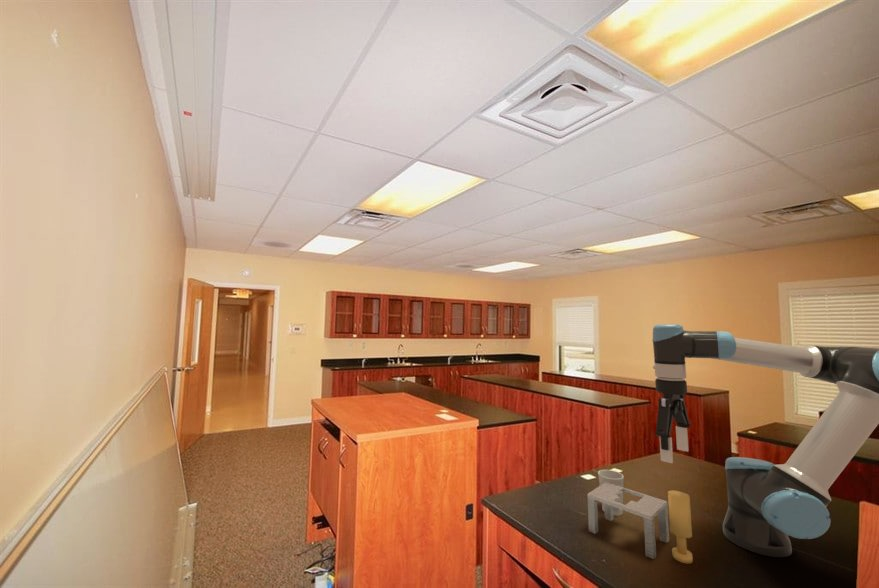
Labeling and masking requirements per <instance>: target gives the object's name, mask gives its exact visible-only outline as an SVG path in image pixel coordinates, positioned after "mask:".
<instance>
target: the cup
mask: <svg viewBox="0 0 879 588" xmlns="http://www.w3.org/2000/svg"><path fill="white" fill-rule="evenodd" d="M597 475H598V482H599V483H598V484H599V486H600V485H602V484H603V483H605V482H608V483H611V484H614V485H617V486H620V487H623V488H624V477H625V476H624V475H623V473H621V472H618V471H617V470H616V471H615V470H612V469H611V470H610V469H599V470H598V472H597ZM618 496H620V500H619V501H617V502H619V503H621V504H624V503H623V501H624V498H623V497H624V492H622V493H620V494H619V495H618ZM601 509H602V511H603V512H604V503H602V502H601ZM623 511H624V510H621V509H619V508H616V507H613V516H617V517H618V516H622V515H623V513H624V512H623Z"/></svg>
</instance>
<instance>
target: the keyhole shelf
mask: <svg viewBox="0 0 879 588" xmlns="http://www.w3.org/2000/svg"><path fill="white" fill-rule="evenodd" d="M622 492H623V493H627V494H629V495H632V496H636V497H639V498H640V499H639V500H638V501H635V500H629V502H627V503H626V504H624V503H623V504H621V503H619V502H617V501H619V500H620V496H618V495H619V494H620V493H622ZM586 497H587V515H588V518H587V519H588V521H587V522H588V532H590V533H592V534H594V535H596V534H598V532H599V521H598V519H599V516H598V515H599V514H598V502H600V503H601V504H602V503H604V511H603V512H604V513H603V514H604V519H605V520H607V521H610V522H612V521H613V520H614V515H613V507H616V508H619V509H621V510H623V511H624V512H627V513H630V514H632V515H636V516H639V517H641V518H643V527H644V528H643V533H644V534H643V535H644V552H645V557H647V558H649V559H652V560H655V559H656V557H657V546H656V528H655V524H656V523H655V518H656V517H657V522H658V524H657V525H658V539H659V541H660V542H663V543H665V544H668V542H669V541H670V533H669V532H670V526H669V509H668V501H667V500H664V499H662V498H658V497H656V496H655V497H654V496H651V495H648V494H645V493H642V492H639V491H636V490H632V489H630V488H627V487H624V486H623V487H620V486H617V485H614V484H611V483H608V482H605V483H603V484H602V485H600V484H599V485H598V486H597V487H595V488H594V489H593V490H591V491H590V492H588V493H587V496H586Z"/></svg>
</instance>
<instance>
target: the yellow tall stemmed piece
mask: <svg viewBox="0 0 879 588" xmlns="http://www.w3.org/2000/svg"><path fill="white" fill-rule="evenodd" d="M667 498H668V499H667V500H668V501H667V504H668V521H669V532H670V533H671V534H673V535H674V536H675V537H676V546H675V547H672V549H671V551H672V553H671V554H672V555H671V556H672V557H673V559H674V560H675V561H678V562H680V563H682V564H688V565H689V564H693V561H694V559H693V558H694V557H693V553H692V552H691V551H690V550H689V549H688V548H687V547H688V546H687V539H691V538H693V531H692V530H693V529H692V516H691V515H692V511H691V497H690V495H689V494H687V493H685V492H683V491H679V490H669V491H667Z"/></svg>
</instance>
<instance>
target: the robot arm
mask: <svg viewBox="0 0 879 588" xmlns="http://www.w3.org/2000/svg"><path fill="white" fill-rule="evenodd" d="M652 346H653V358H654V365H652V368H653V369H654V376H655V377H656V379H655V382H654V384H655V390H656V392H658V393H659V394H660V393H661V394H662V395H663V396H662V397H660V398H659V397H658V399H657V401H658V410H657V416H656V417H657V420H656V428H655V434H654V436H657V437H659V451H660V452H659V453H660V461H661V462H664V463H669V464H674V455H673V438H672V437H671V434H672V428H673V422H674V421H675V424H676V426H675V435H676V438H675V439H676V440H675V441H676V450H679V451H682V452H687V453H688V452H689V450H690V449H689V438H688V436H689V435H688V429H690V428H692V427H691V423H690V420H689V415H688V411H687V406H686V403H685V395H687V394H688V385H687V384H688V383H687V380H685V379H687V370H686V369H687V367H686V359H692V358H693V359H713V360H719V361H723V362H724V361H725V362H731V363H738V364H744V365H750V366H757V367H762V368H769V369H773V370H774V369H775V370H779V371H787V372H793V373H799V374H800V375H802V376H803V377H804V378H809V379H815V380H819V381H823V382H827V383H831V384H835V385H836V386H837V389H838V390H839V391H838V393H837V395H836V396H835V397H834V398H833V400H832V401H831V403H830V404H829V405H828V406H827V408H826V409H825V410H824V412H823V413H822V414H821V416H820V417H819V419H817V421H816V423H815V424H813V426H812V428H811V429H810V430H809V432H808V433H807V434H806V435H805V437H804V438H803V440H802V441H801V442H800V443H799V444H798V446H797V447H796V448H795V450H794V451H793V453H791V455H790V457H789V458H788V460H787V461H786V462H785V463H783V464H782V463H781V464H774V463H772V462H770V461H767V460H764V459H757V458H751V457H741V456H740V457H739V456H731V457H727V458H726V459H725V462H724V463H725V466H724V471H725V479H726V490H727V502H728V503H727V505H728V506H727V507H728V508H727V510H726V513H725V517H724V520H723V521H722V532H723V533H722V534H723V535H724V537H725V538H726V539H727V540H729V541H730V542H731V543H733V544H735V545H736V546H738V547H741V548H742V549H744V550H747V551H750V552H752V553H755V554H759V555H762V556H766V557H767V556H768V557H773V558H787V557H790V556H791V555H792V554H793V550H792V549H793V548H792V543H791V539H790V537H791V538H795V539H803V540H805V539H806V540H811V539H816V538H819V537H821V536H822V535H824V534H825V533H826V532H827V531H828V530H829V528H830V527H831V521H832V520H831V518H830V512H829V510H828V508H827V507H828V506H829V504H830V503H831V502H832V497H831V496H830V493H829V489H830V487H832V485H833V484H834V482H835V481H836V480H837V479H838V477H839V476H841V475H840V474H841V473H842V472H843V471H844V470H845V468H846V467H847V466H848V464H849V463H850V462H851V460H852V459H853V458H854V456H855V455H856V454H857V452H858V451H859V450H860V449H861V448H862V446H863V445H864V444H865V442H866V441H867V440H868V438H869V437H871V436H870V435H872V433H873V432H874V430H875V429H876V428H877V427H878V426H879V347H878V348H877V347H876V348H875V347H861V346H820V345H813V344H806V345H804V346H796V345H788V344H782V343H781V344H780V343H775V342H768V341H762V340H753V339H746V338H739V337H734V335H733V334H732V333H731V332H729V331H720V330H715V331H713V330H712V331H711V330H709V331H708V330H707V331H703V330H702V331H701V330H695V331H694V330H684V327H683V325H681V324H656V325H654V326H653V327H652Z"/></svg>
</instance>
